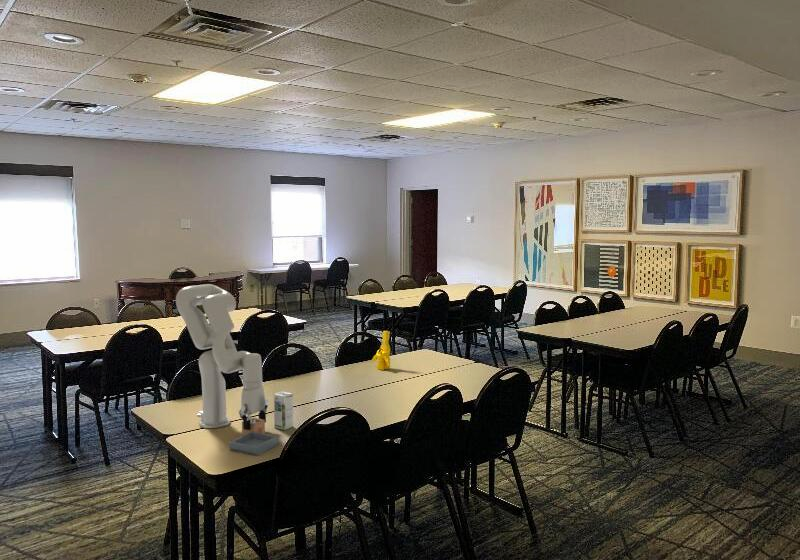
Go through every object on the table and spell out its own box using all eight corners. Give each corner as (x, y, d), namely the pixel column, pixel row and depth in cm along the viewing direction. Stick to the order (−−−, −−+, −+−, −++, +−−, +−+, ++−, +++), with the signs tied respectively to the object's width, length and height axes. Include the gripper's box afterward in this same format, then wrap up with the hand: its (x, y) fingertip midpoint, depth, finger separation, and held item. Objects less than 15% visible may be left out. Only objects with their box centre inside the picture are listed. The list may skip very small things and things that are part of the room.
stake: (249, 433, 247) (248, 419, 246) (253, 431, 249) (252, 417, 248) (254, 434, 246) (253, 420, 245) (257, 432, 248) (257, 418, 247)
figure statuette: (368, 367, 357) (368, 330, 355) (379, 365, 362) (379, 328, 360) (387, 373, 343) (387, 334, 341) (397, 370, 348) (398, 332, 346)
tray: (229, 450, 229) (229, 442, 229) (251, 438, 241) (251, 431, 241) (257, 455, 224) (257, 447, 223) (278, 444, 235) (278, 436, 235)
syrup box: (273, 427, 253) (273, 393, 252) (284, 424, 258) (283, 390, 257) (283, 430, 250) (283, 396, 249) (293, 426, 255) (293, 392, 254)
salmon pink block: (242, 434, 246) (241, 422, 245) (252, 429, 252) (252, 417, 251) (258, 437, 242) (258, 425, 242) (268, 432, 248) (268, 420, 248)
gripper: (259, 378, 254) (260, 418, 256) (231, 388, 239) (233, 431, 240) (273, 380, 251) (275, 420, 253) (246, 390, 236) (248, 433, 237)
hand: (254, 425), depth 247 cm, fingers open, 9 cm apart
